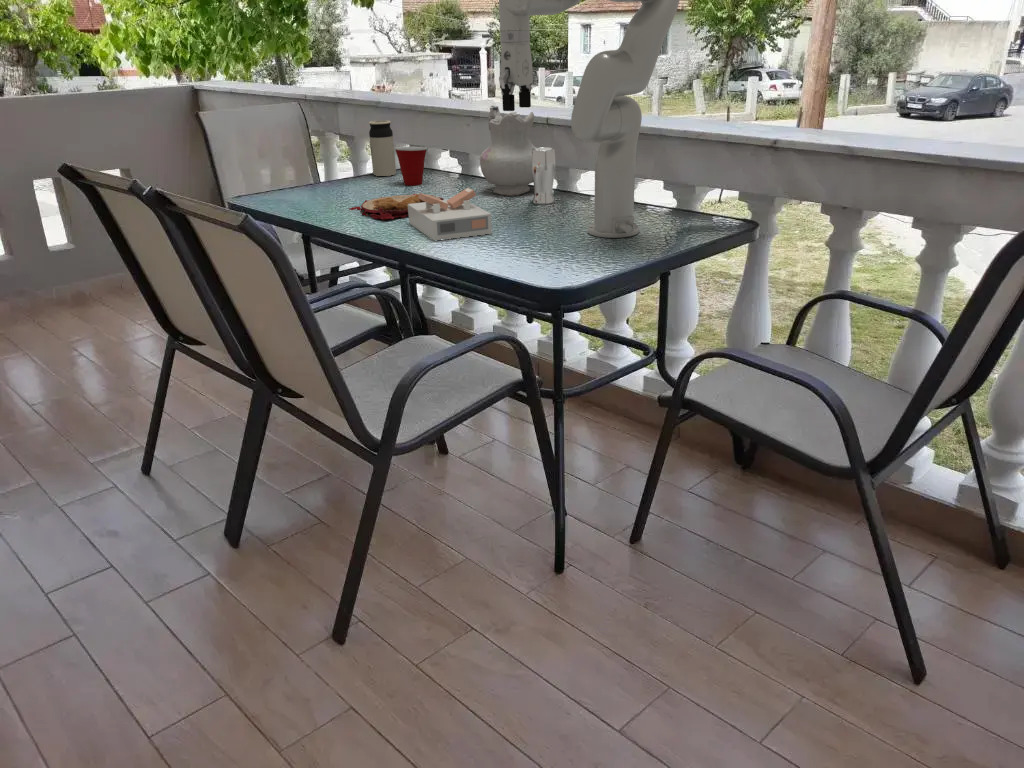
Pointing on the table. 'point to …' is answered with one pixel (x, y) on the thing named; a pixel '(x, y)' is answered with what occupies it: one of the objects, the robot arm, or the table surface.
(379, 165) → the travel mug
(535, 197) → the white cylinder
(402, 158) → the plastic cup
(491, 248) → the table surface
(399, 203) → the plate with food
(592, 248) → the table surface
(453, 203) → the rocker
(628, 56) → the robot arm
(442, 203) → the rocker
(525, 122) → the ceramic pitcher
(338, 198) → the table surface
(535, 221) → the table surface
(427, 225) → the switch box
